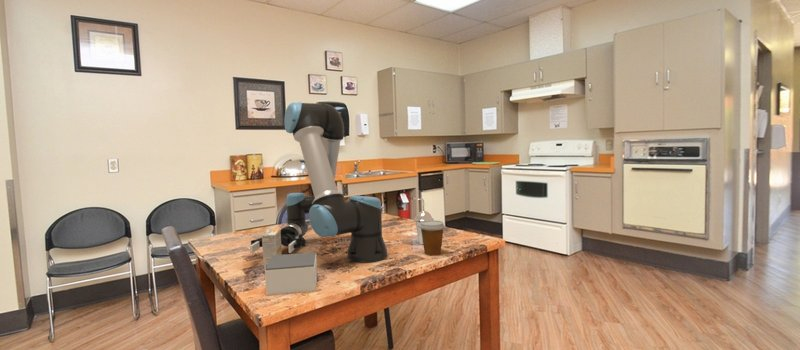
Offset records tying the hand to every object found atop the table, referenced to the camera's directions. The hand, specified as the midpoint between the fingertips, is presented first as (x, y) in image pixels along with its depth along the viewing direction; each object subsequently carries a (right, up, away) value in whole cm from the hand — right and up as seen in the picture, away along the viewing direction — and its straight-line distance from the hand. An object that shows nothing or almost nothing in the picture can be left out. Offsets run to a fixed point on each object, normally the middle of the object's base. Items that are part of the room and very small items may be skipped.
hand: (270, 249), depth 135 cm
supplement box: (+1, -7, +1) cm, 7 cm away
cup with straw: (+55, -3, +30) cm, 63 cm away
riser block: (+12, -8, -15) cm, 21 cm away
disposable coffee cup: (+58, -4, +15) cm, 60 cm away
